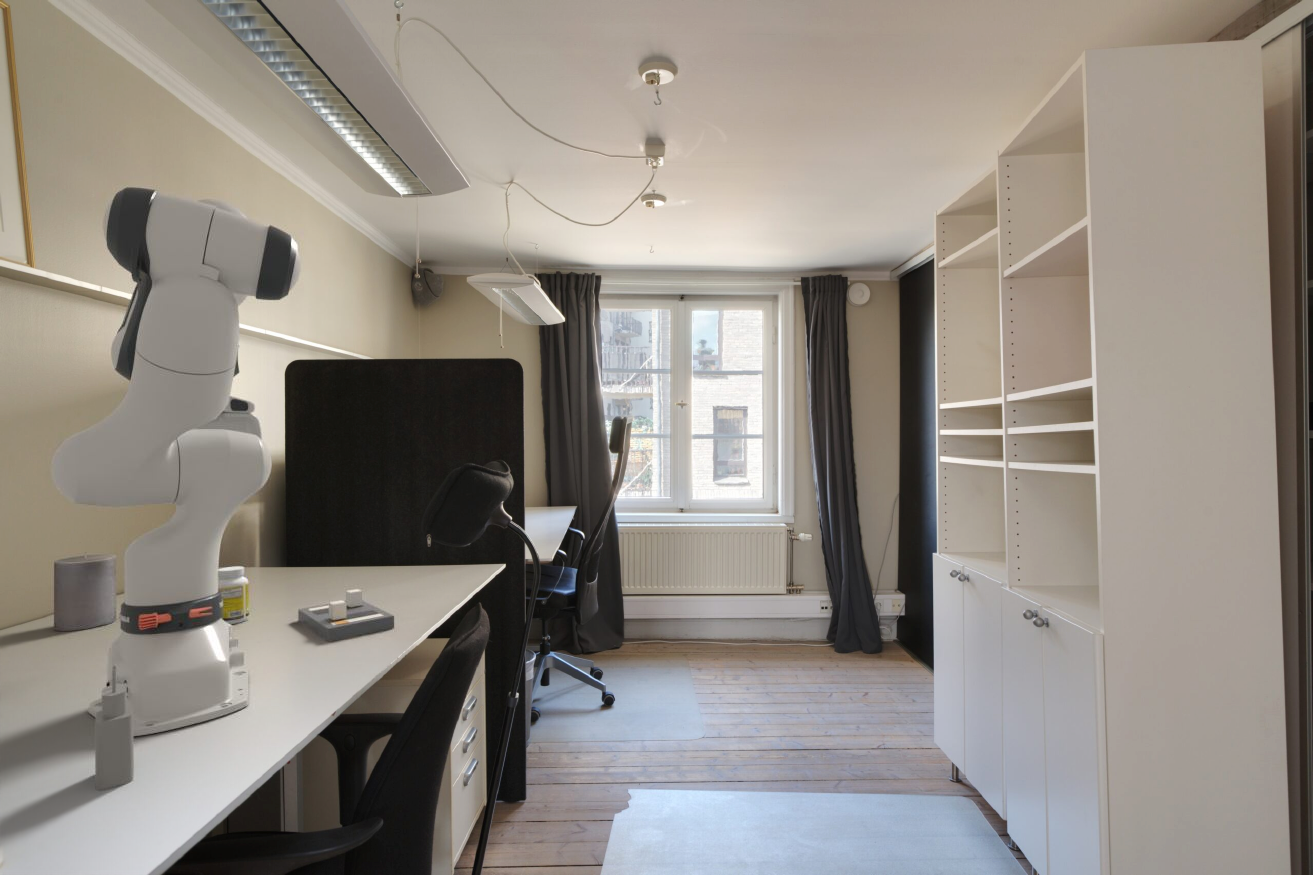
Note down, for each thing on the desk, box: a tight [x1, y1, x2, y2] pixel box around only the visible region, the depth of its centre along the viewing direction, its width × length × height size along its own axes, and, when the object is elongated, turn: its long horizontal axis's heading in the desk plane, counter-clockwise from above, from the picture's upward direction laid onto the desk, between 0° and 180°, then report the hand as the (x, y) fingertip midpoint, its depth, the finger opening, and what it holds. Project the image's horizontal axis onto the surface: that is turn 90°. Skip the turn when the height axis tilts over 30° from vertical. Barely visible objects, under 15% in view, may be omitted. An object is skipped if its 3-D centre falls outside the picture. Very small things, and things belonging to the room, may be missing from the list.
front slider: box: [328, 599, 346, 620], centre depth 125 cm, size 3×2×3 cm
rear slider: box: [345, 588, 363, 607], centre depth 134 cm, size 3×2×3 cm
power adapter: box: [94, 666, 135, 791], centre depth 71 cm, size 3×5×12 cm, turn 39°
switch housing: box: [297, 600, 395, 642], centre depth 129 cm, size 20×12×2 cm, turn 43°
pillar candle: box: [53, 551, 117, 632], centre depth 132 cm, size 10×10×15 cm
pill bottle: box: [218, 565, 250, 625], centre depth 133 cm, size 6×6×11 cm
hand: (201, 474), depth 125 cm, fingers closed
